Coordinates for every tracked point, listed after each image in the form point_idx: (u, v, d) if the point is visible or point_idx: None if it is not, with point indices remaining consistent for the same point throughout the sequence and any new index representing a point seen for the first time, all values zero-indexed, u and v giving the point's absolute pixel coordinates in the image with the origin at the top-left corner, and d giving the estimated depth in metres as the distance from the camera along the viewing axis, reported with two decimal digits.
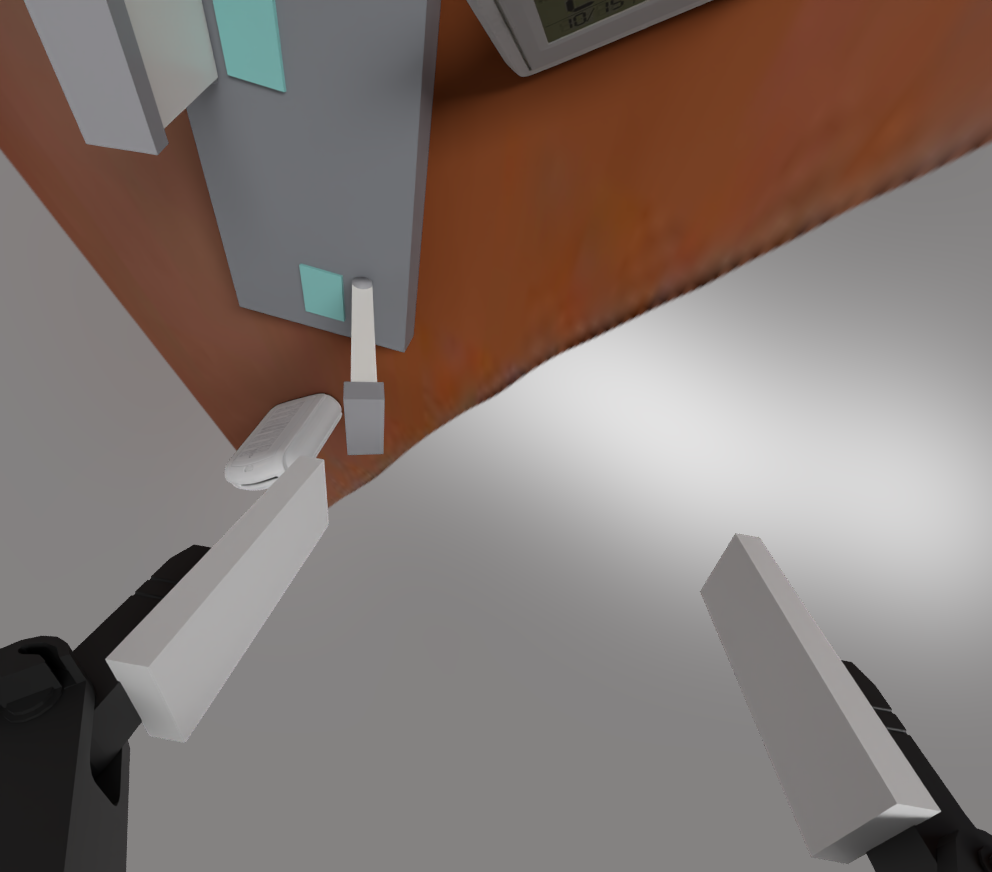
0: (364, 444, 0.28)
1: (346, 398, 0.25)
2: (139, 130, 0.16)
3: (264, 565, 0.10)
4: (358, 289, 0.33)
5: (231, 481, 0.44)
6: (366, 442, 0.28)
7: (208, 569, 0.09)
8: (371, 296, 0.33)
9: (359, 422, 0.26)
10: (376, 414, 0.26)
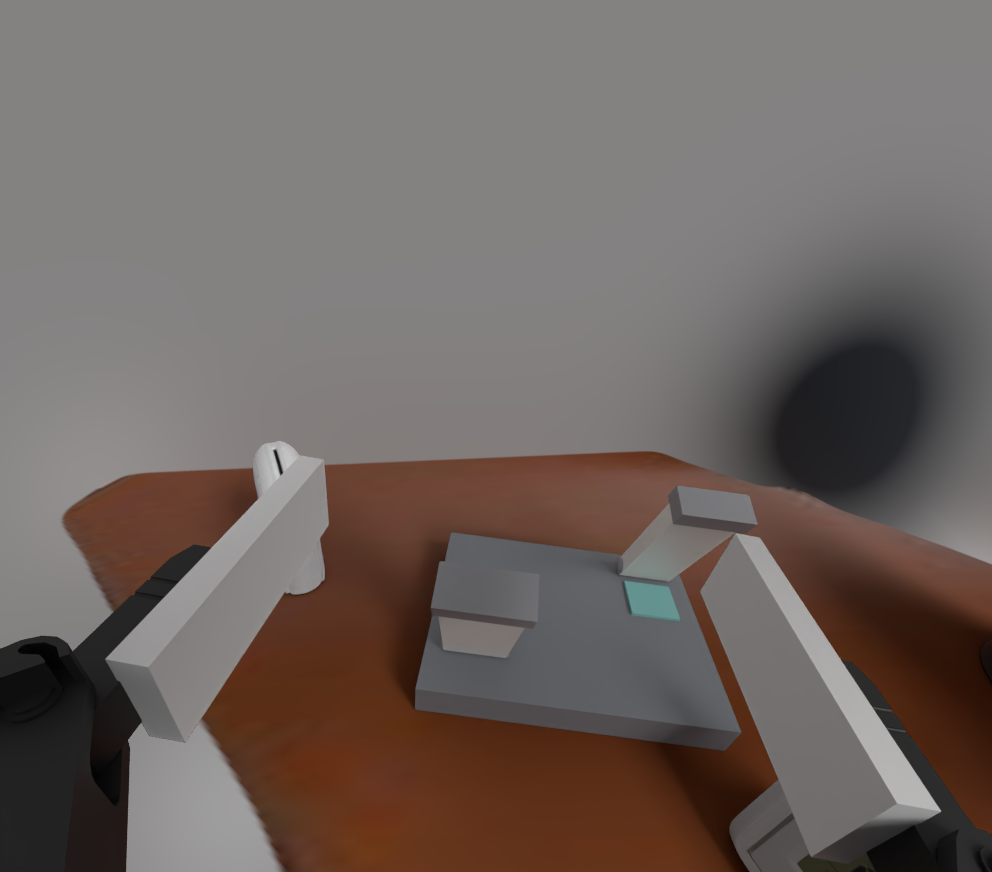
0: (456, 585, 0.21)
1: None
2: (692, 511, 0.29)
3: (264, 565, 0.10)
4: None
5: (281, 443, 0.39)
6: (460, 588, 0.21)
7: (208, 569, 0.09)
8: None
9: (499, 585, 0.21)
10: (511, 608, 0.21)
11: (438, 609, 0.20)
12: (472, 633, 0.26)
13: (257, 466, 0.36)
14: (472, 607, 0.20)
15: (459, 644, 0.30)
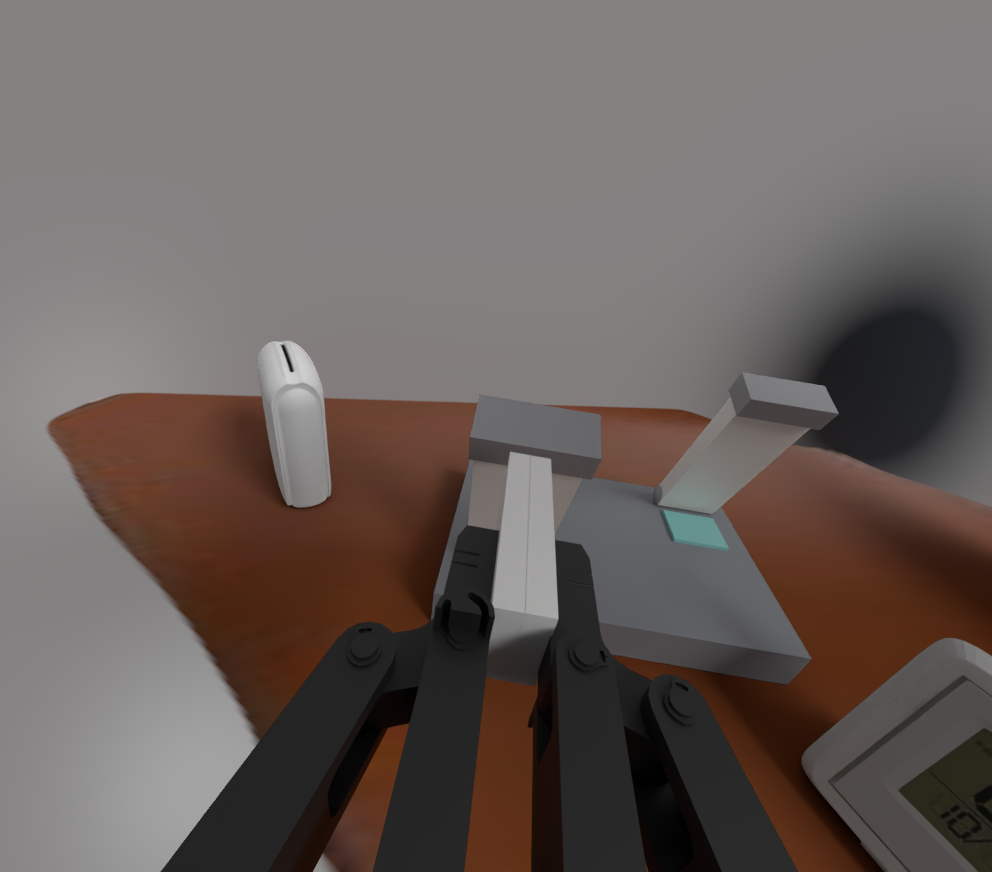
0: (500, 418, 0.17)
1: (600, 418, 0.18)
2: (762, 397, 0.25)
3: None
4: None
5: (289, 341, 0.35)
6: (505, 421, 0.17)
7: (511, 542, 0.11)
8: None
9: (553, 421, 0.17)
10: (569, 444, 0.17)
11: (479, 440, 0.17)
12: None
13: (262, 357, 0.32)
14: (521, 440, 0.17)
15: None
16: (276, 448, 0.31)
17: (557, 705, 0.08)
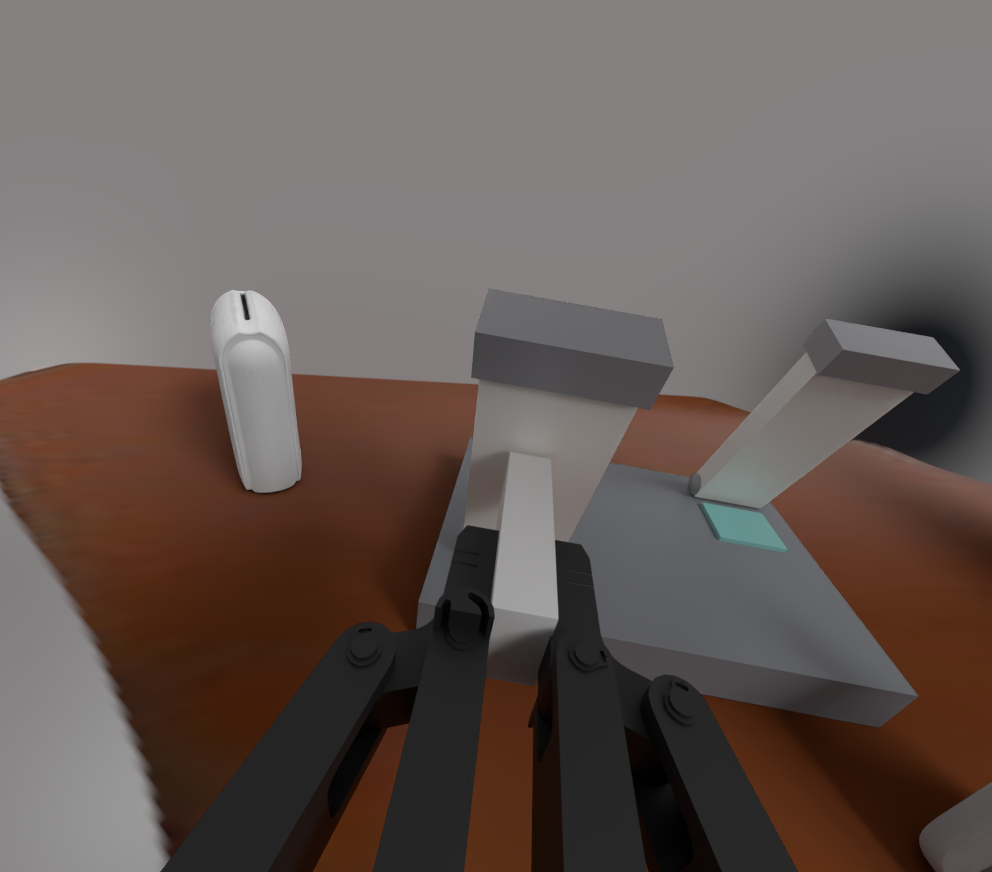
0: (520, 314, 0.12)
1: (662, 324, 0.12)
2: (857, 347, 0.19)
3: None
4: None
5: None
6: (526, 318, 0.12)
7: (511, 542, 0.11)
8: None
9: (596, 322, 0.12)
10: (623, 348, 0.11)
11: (488, 339, 0.11)
12: None
13: (215, 305, 0.26)
14: (551, 339, 0.11)
15: None
16: (228, 417, 0.25)
17: (557, 705, 0.08)
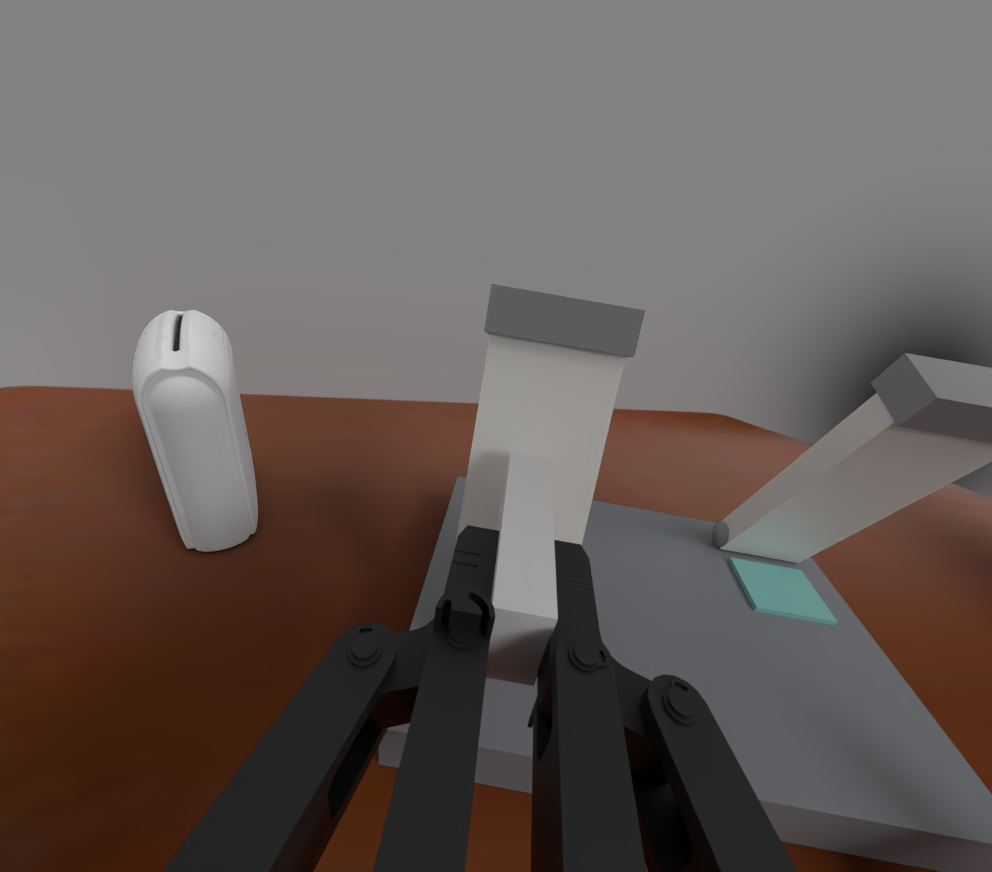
0: None
1: None
2: (955, 394, 0.14)
3: None
4: None
5: (196, 311, 0.24)
6: None
7: (512, 542, 0.11)
8: None
9: None
10: None
11: (501, 290, 0.14)
12: None
13: (144, 330, 0.22)
14: None
15: None
16: (157, 468, 0.21)
17: (557, 705, 0.08)
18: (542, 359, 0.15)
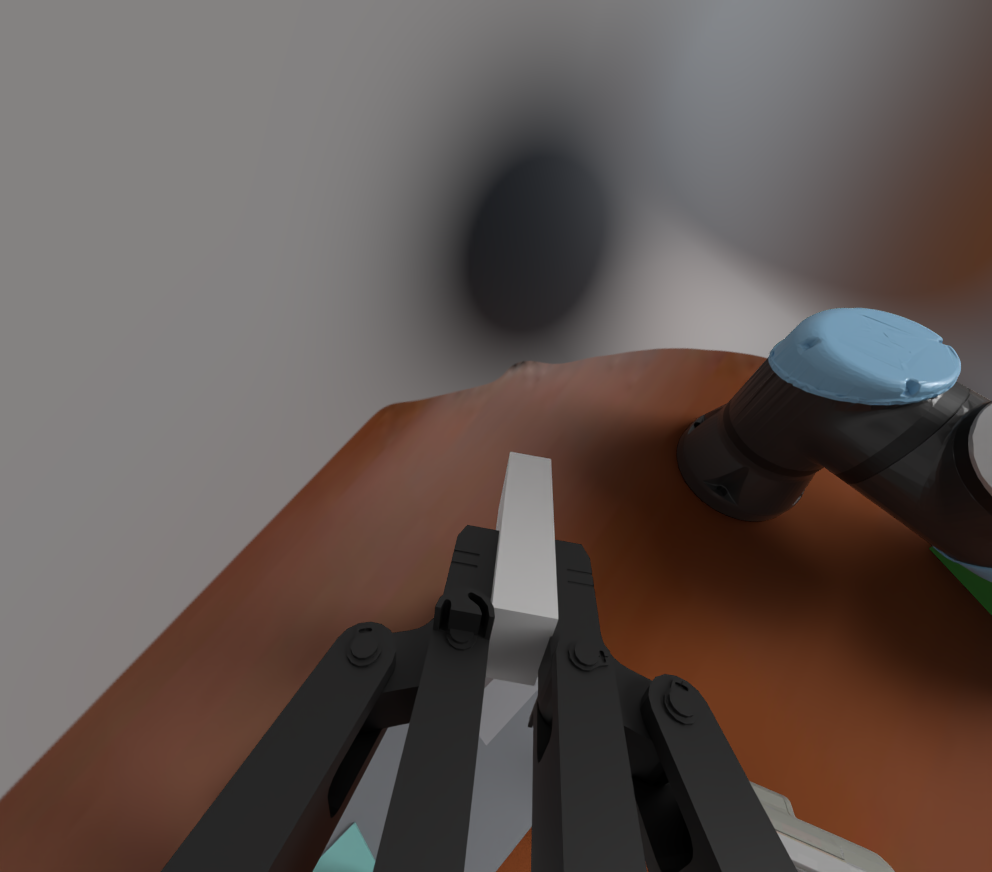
0: None
1: None
2: (493, 729, 0.24)
3: None
4: None
5: None
6: None
7: (511, 542, 0.11)
8: None
9: None
10: None
11: None
12: None
13: None
14: None
15: None
16: None
17: (557, 705, 0.08)
18: None
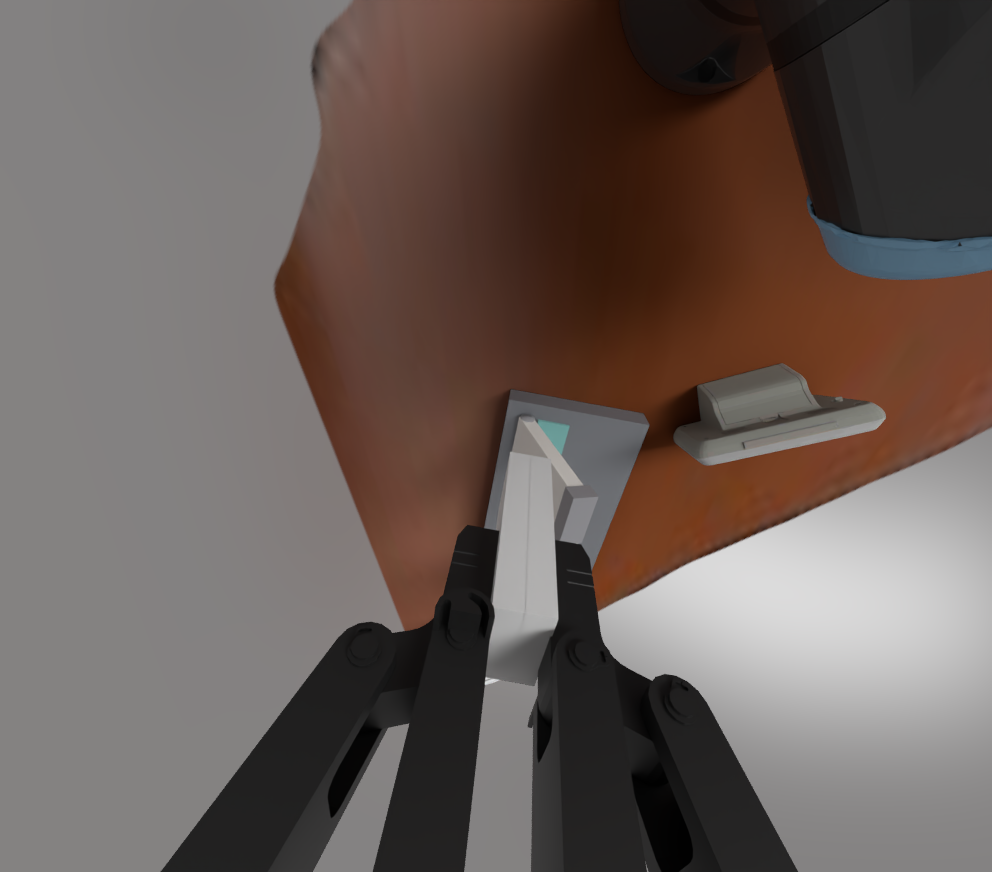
0: None
1: None
2: (580, 536, 0.37)
3: None
4: None
5: None
6: None
7: (511, 542, 0.11)
8: None
9: None
10: None
11: None
12: None
13: None
14: None
15: None
16: None
17: (557, 705, 0.08)
18: None
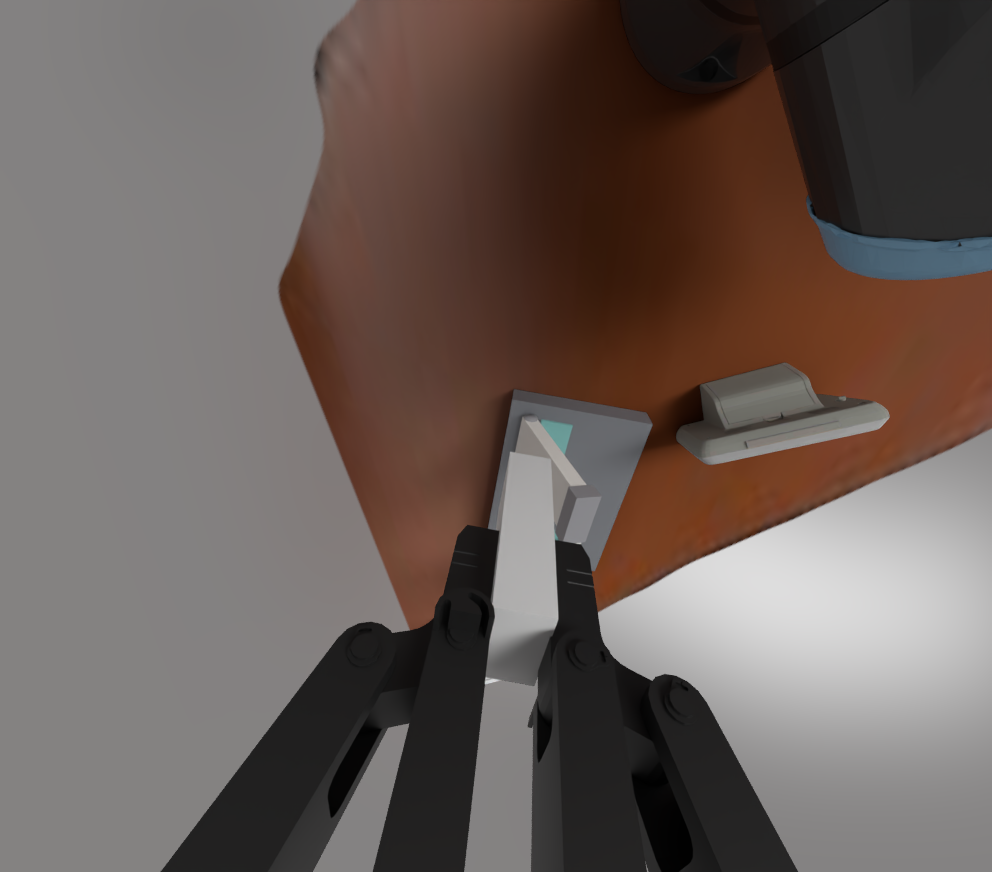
0: None
1: None
2: (584, 536, 0.37)
3: None
4: None
5: None
6: None
7: (511, 542, 0.11)
8: None
9: None
10: None
11: None
12: None
13: None
14: None
15: None
16: None
17: (557, 705, 0.08)
18: None
